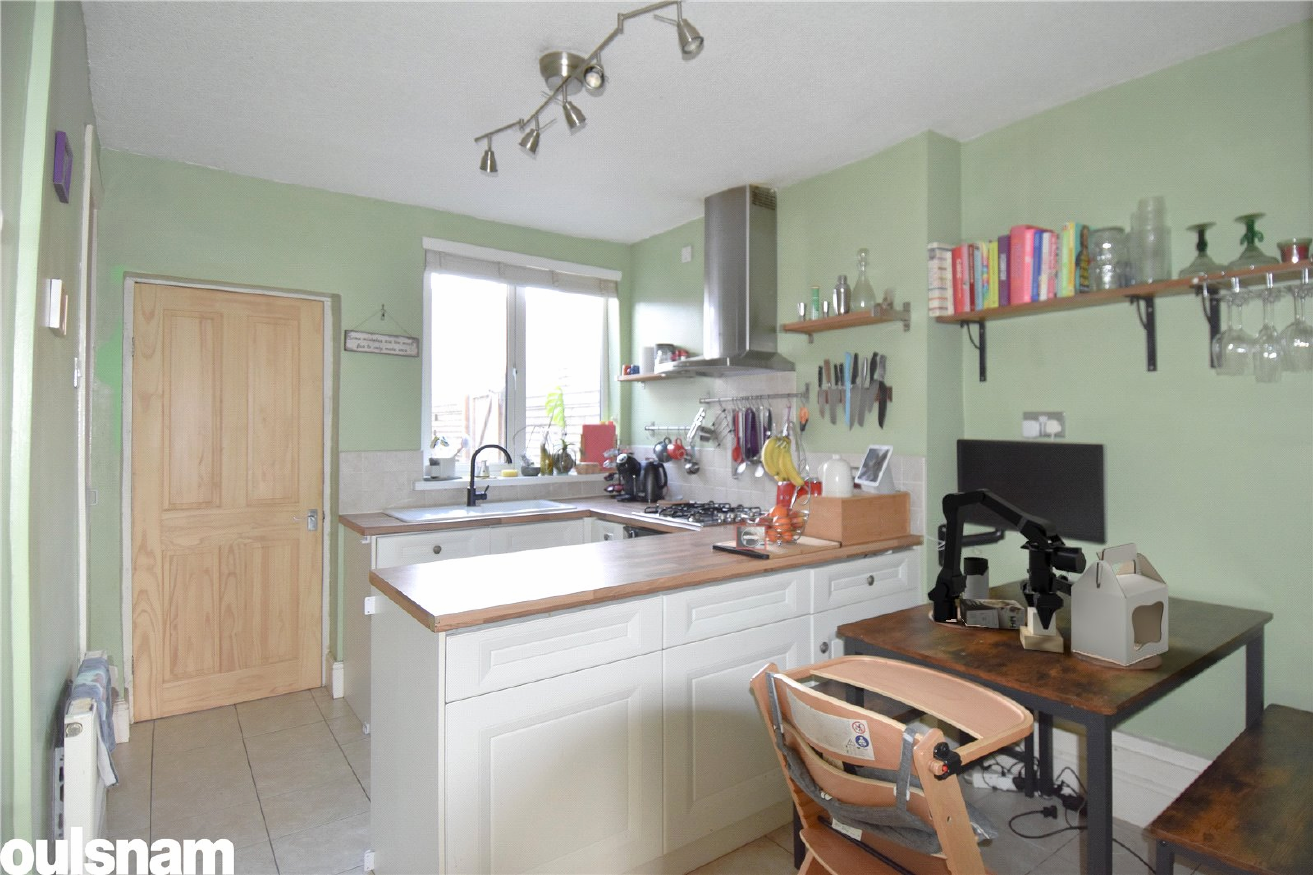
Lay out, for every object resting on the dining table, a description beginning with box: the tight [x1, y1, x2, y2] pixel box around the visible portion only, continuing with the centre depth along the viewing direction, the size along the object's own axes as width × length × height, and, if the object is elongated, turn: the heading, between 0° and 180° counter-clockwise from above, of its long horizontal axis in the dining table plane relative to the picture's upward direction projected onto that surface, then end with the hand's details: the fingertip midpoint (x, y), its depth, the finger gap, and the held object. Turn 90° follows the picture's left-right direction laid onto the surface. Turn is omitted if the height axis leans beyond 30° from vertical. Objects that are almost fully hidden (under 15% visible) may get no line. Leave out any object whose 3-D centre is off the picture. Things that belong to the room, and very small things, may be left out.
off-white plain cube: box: [1027, 606, 1057, 636], centre depth 181 cm, size 5×5×6 cm
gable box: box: [1070, 542, 1169, 665], centre depth 176 cm, size 22×13×28 cm, turn 120°
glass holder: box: [960, 556, 990, 600], centre depth 224 cm, size 9×14×15 cm, turn 67°
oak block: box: [1019, 625, 1064, 653], centre depth 182 cm, size 9×9×4 cm
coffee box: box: [958, 598, 1026, 630], centre depth 201 cm, size 9×6×16 cm
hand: (1040, 624), depth 182 cm, fingers open, 9 cm apart
